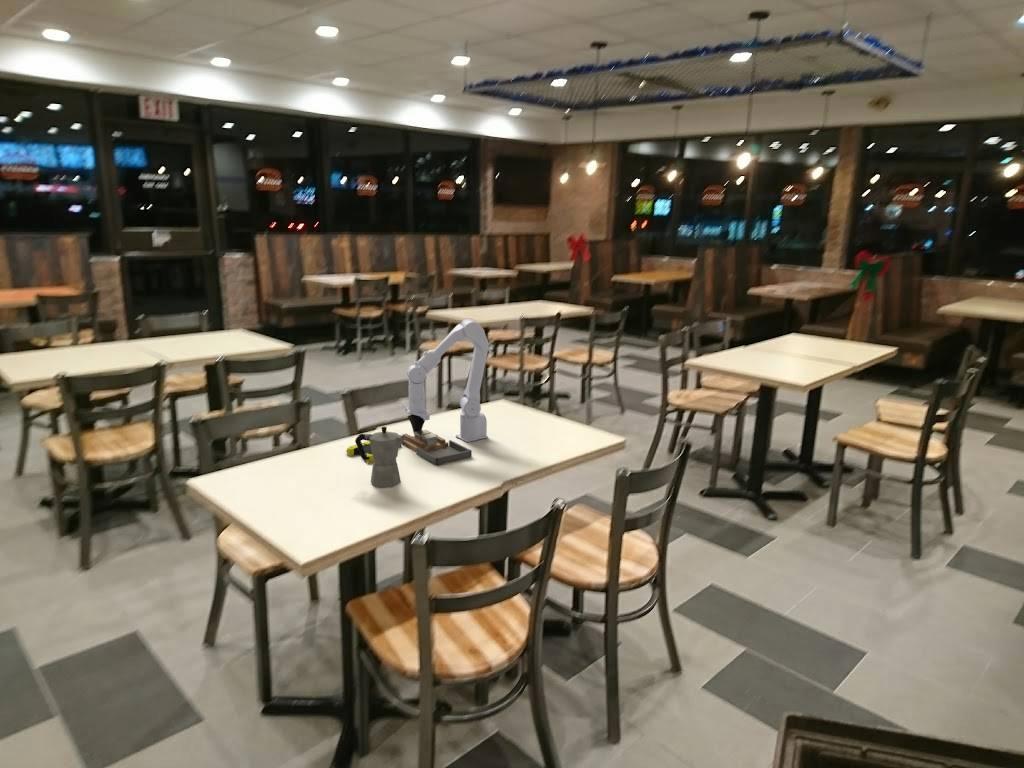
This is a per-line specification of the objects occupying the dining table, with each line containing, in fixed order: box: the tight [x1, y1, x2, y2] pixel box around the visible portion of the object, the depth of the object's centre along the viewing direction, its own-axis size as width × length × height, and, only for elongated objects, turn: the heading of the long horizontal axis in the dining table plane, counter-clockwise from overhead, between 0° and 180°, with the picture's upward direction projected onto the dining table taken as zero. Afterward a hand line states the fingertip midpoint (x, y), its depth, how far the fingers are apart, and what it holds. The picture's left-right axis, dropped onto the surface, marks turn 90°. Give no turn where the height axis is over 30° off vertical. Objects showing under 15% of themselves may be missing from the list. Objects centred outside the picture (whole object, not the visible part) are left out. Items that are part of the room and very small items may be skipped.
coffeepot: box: [354, 426, 406, 489], centre depth 203 cm, size 15×9×18 cm, turn 90°
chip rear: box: [414, 429, 431, 442], centre depth 239 cm, size 4×4×3 cm
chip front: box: [422, 432, 438, 447], centre depth 236 cm, size 4×4×3 cm
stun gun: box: [345, 440, 403, 464], centre depth 231 cm, size 3×19×15 cm
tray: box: [415, 439, 473, 466], centre depth 229 cm, size 14×13×2 cm
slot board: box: [402, 429, 449, 453], centre depth 239 cm, size 12×14×3 cm
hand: (417, 434), depth 242 cm, fingers closed
